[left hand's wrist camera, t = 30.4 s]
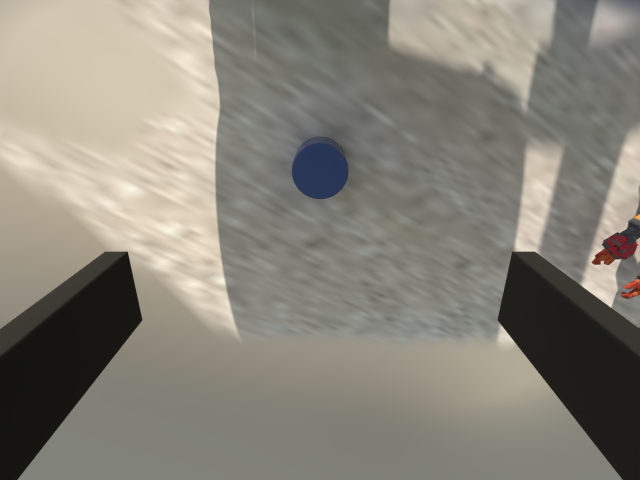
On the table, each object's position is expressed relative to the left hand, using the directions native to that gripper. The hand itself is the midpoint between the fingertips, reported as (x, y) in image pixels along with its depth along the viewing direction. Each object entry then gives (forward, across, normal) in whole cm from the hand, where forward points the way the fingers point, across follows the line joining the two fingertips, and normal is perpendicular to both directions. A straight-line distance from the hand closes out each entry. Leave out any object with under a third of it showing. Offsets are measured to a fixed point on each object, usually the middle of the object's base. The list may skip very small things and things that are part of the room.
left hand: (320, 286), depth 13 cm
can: (+25, 0, 0) cm, 25 cm away
